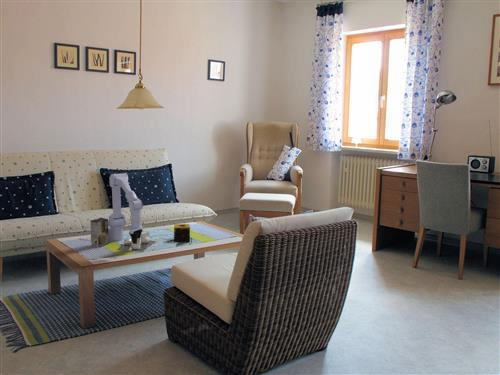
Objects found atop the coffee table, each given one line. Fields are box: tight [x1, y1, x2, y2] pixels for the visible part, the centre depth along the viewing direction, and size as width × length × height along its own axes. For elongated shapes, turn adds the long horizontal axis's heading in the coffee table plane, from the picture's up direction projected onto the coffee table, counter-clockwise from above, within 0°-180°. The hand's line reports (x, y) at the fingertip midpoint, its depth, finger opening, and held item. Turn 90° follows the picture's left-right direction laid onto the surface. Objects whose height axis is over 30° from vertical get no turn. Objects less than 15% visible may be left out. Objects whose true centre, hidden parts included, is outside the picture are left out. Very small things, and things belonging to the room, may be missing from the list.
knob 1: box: [130, 238, 141, 249], centre depth 301 cm, size 6×5×6 cm
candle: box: [173, 223, 191, 243], centre depth 327 cm, size 10×10×10 cm
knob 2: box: [140, 231, 150, 243], centre depth 315 cm, size 6×5×6 cm
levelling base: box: [116, 238, 157, 253], centre depth 309 cm, size 16×24×4 cm
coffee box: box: [90, 217, 110, 248], centre depth 311 cm, size 9×6×16 cm
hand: (136, 242), depth 301 cm, fingers open, 4 cm apart
